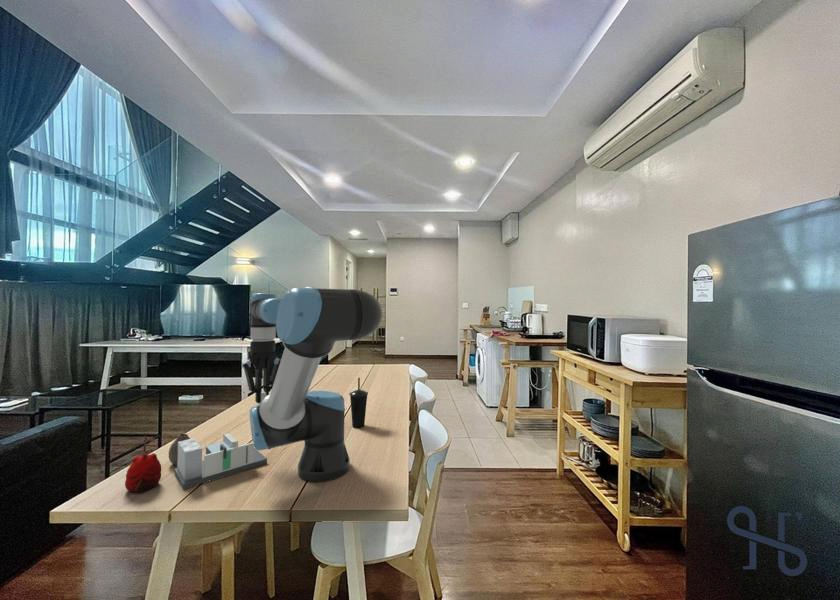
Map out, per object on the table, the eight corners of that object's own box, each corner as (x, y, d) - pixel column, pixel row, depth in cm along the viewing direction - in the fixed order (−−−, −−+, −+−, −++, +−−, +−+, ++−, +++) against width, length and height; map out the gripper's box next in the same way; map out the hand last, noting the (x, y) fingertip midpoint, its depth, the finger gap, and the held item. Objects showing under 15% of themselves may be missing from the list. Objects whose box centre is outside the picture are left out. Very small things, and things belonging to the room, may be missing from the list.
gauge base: (267, 463, 106) (267, 439, 106) (183, 489, 91) (183, 461, 91) (253, 451, 115) (253, 429, 115) (174, 473, 99) (175, 448, 99)
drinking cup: (370, 427, 139) (371, 378, 140) (353, 430, 135) (354, 380, 135) (363, 421, 146) (363, 375, 146) (346, 425, 141) (346, 377, 142)
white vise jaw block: (201, 476, 95) (202, 448, 95) (184, 482, 92) (185, 452, 92) (193, 464, 102) (194, 438, 102) (177, 469, 99) (177, 441, 99)
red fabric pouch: (161, 478, 97) (162, 425, 97) (160, 489, 91) (162, 433, 91) (126, 486, 92) (127, 431, 92) (123, 498, 86) (124, 439, 87)
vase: (190, 466, 104) (191, 437, 104) (164, 469, 102) (164, 440, 102) (198, 456, 111) (198, 429, 111) (173, 459, 109) (174, 431, 109)
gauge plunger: (240, 467, 100) (240, 443, 100) (215, 475, 95) (215, 450, 95) (228, 454, 108) (228, 432, 108) (204, 461, 103) (205, 438, 104)
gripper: (278, 338, 119) (277, 405, 118) (237, 340, 110) (236, 413, 109) (287, 339, 114) (286, 410, 113) (246, 342, 104) (244, 419, 104)
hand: (262, 411), depth 111 cm, fingers closed
